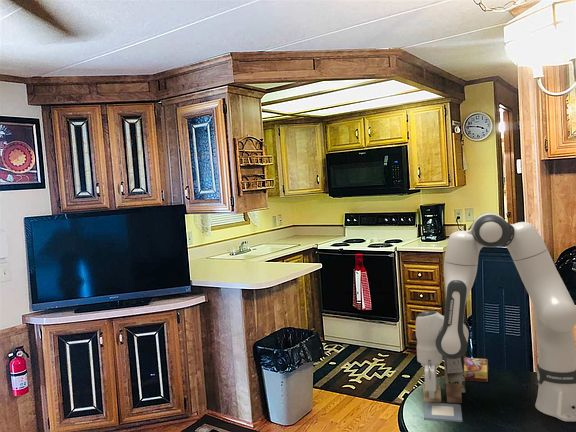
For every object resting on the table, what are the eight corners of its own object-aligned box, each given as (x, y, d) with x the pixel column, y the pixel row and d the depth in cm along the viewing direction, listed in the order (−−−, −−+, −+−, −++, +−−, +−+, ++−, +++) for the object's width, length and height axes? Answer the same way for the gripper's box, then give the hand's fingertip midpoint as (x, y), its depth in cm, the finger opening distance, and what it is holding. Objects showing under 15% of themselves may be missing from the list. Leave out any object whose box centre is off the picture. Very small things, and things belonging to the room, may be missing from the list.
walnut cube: (461, 397, 176) (460, 383, 175) (461, 403, 171) (461, 389, 171) (446, 396, 177) (445, 383, 177) (447, 402, 172) (446, 388, 172)
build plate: (460, 406, 169) (460, 404, 169) (462, 422, 157) (462, 419, 157) (424, 404, 172) (424, 402, 172) (423, 419, 161) (423, 417, 161)
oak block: (440, 395, 178) (440, 384, 178) (441, 402, 172) (440, 391, 172) (423, 394, 180) (423, 384, 180) (423, 401, 174) (423, 390, 174)
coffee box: (466, 392, 179) (463, 349, 178) (448, 392, 180) (445, 349, 180) (462, 383, 188) (459, 341, 187) (445, 383, 189) (442, 342, 189)
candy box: (487, 383, 187) (488, 368, 201) (486, 372, 186) (487, 358, 200) (463, 381, 190) (465, 366, 204) (462, 370, 190) (464, 356, 204)
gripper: (438, 366, 165) (441, 406, 165) (438, 347, 184) (440, 383, 185) (419, 365, 167) (422, 405, 167) (421, 346, 186) (423, 382, 187)
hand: (432, 393), depth 176 cm, fingers closed on oak block, 6 cm apart
